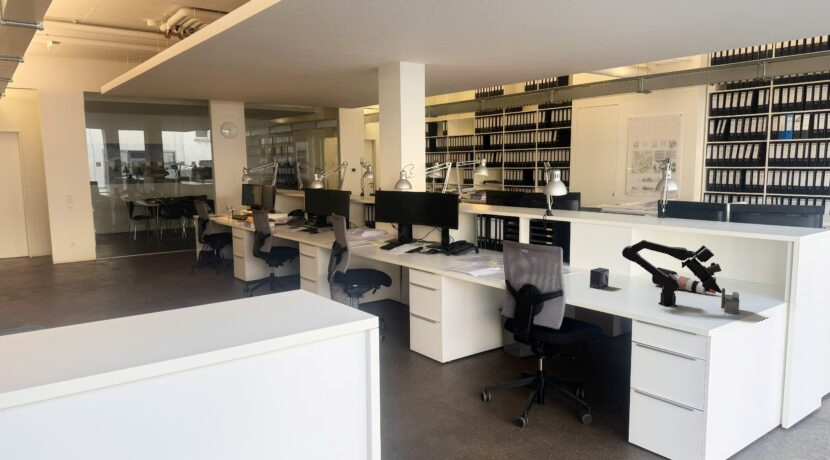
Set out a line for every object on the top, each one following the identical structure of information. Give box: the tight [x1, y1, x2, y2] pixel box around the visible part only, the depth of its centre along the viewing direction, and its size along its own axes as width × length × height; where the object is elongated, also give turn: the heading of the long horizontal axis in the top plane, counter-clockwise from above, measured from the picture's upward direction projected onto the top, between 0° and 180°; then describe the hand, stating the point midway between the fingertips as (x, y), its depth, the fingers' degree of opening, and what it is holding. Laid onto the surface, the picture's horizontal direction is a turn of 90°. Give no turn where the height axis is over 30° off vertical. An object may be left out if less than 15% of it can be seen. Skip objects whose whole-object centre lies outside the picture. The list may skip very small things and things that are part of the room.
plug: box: [720, 287, 726, 312], centre depth 272 cm, size 6×4×11 cm
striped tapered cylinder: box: [651, 266, 717, 295], centre depth 315 cm, size 10×34×10 cm, turn 38°
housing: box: [724, 291, 740, 315], centre depth 271 cm, size 6×10×9 cm, turn 154°
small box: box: [589, 267, 610, 290], centre depth 325 cm, size 11×6×10 cm, turn 131°
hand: (721, 292), depth 273 cm, fingers closed, pressing on plug
